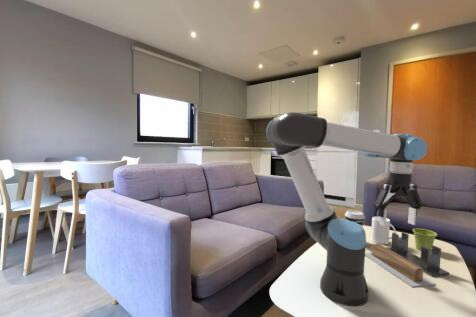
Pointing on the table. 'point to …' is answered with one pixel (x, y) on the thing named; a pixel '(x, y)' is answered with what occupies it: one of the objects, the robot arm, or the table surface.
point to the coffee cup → (355, 217)
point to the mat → (399, 275)
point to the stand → (427, 260)
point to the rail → (398, 263)
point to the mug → (380, 231)
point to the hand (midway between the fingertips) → (397, 224)
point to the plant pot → (424, 238)
